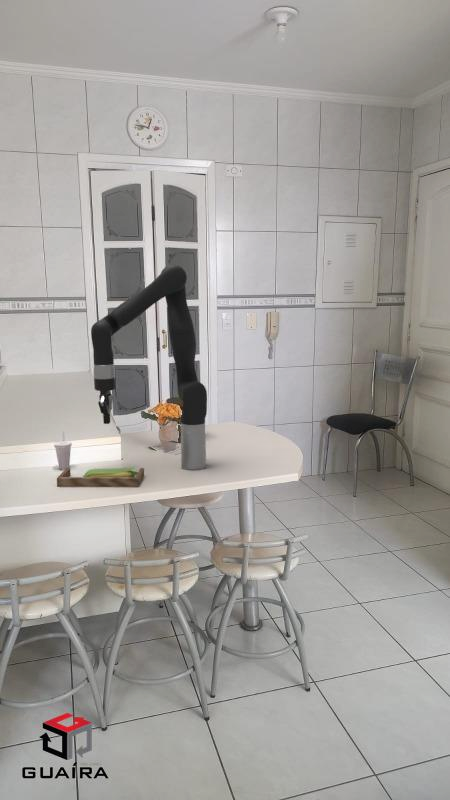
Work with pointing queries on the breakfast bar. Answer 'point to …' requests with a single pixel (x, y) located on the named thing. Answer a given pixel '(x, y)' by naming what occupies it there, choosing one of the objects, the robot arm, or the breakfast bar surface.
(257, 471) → the breakfast bar surface
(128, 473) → the edible corn
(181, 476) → the breakfast bar surface
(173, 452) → the breakfast bar surface
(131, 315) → the robot arm
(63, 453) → the smoothie
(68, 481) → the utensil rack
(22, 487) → the breakfast bar surface
